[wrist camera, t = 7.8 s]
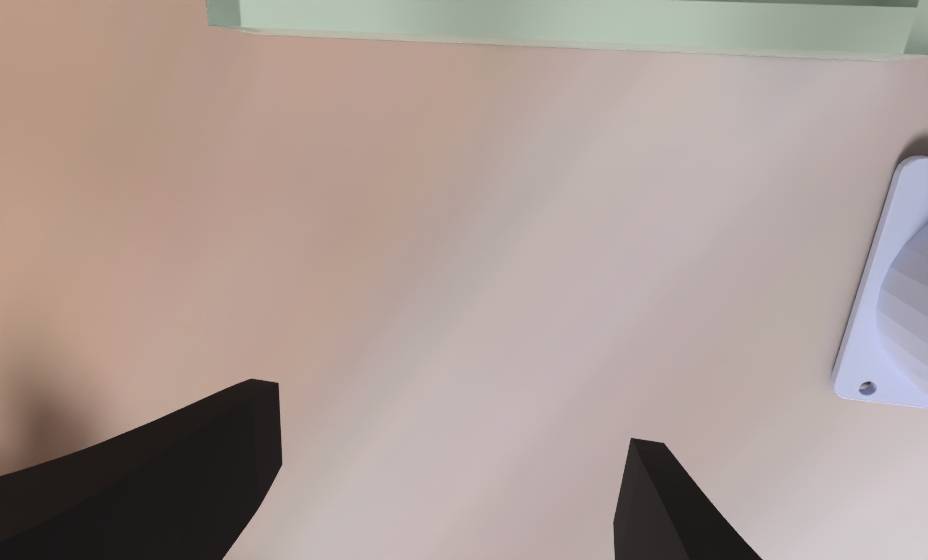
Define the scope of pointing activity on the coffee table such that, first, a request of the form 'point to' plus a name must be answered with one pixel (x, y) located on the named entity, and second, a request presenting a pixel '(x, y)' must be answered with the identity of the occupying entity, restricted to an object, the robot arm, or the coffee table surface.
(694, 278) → the coffee table surface
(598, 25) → the holder tray
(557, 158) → the coffee table surface
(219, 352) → the coffee table surface
